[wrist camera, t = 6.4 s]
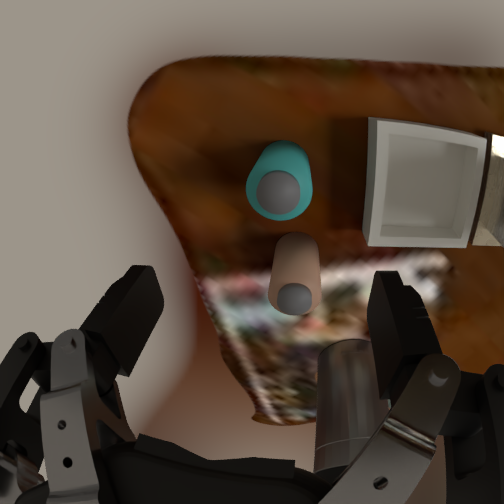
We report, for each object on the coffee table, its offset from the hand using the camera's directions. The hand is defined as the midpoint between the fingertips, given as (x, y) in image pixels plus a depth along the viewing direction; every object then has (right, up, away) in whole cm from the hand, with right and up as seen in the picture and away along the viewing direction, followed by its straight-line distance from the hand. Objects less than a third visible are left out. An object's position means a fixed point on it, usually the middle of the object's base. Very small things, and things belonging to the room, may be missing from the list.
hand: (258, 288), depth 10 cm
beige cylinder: (+4, +1, +19) cm, 19 cm away
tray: (+16, +8, +13) cm, 21 cm away
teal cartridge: (+3, +9, +14) cm, 17 cm away
